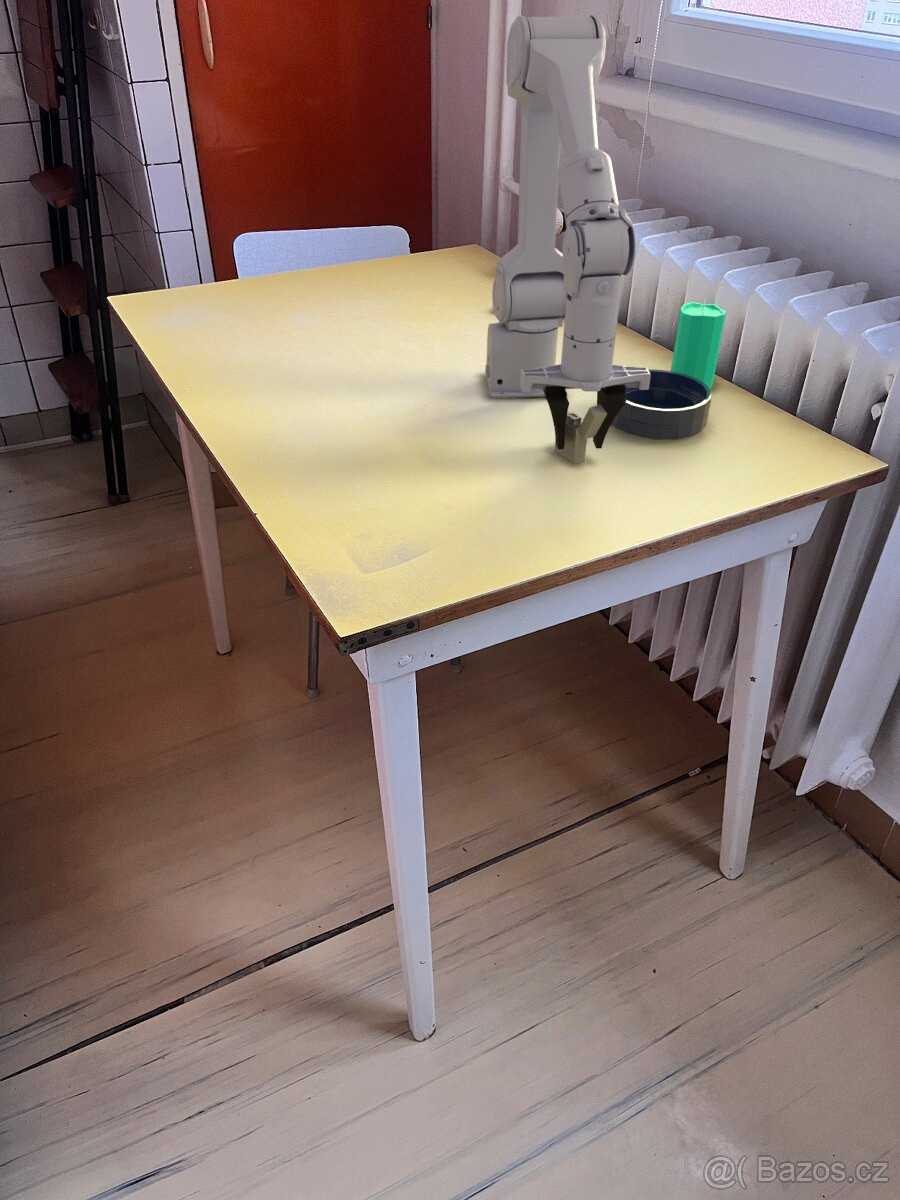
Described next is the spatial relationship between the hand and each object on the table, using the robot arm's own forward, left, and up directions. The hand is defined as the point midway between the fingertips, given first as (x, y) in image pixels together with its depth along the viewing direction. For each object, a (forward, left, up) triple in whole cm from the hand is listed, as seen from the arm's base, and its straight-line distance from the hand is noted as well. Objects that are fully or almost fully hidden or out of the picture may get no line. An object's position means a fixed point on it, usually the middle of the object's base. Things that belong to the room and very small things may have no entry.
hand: (578, 445), depth 111 cm
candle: (+20, +22, -2) cm, 30 cm away
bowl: (+12, +10, -2) cm, 16 cm away
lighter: (0, 0, -2) cm, 2 cm away
